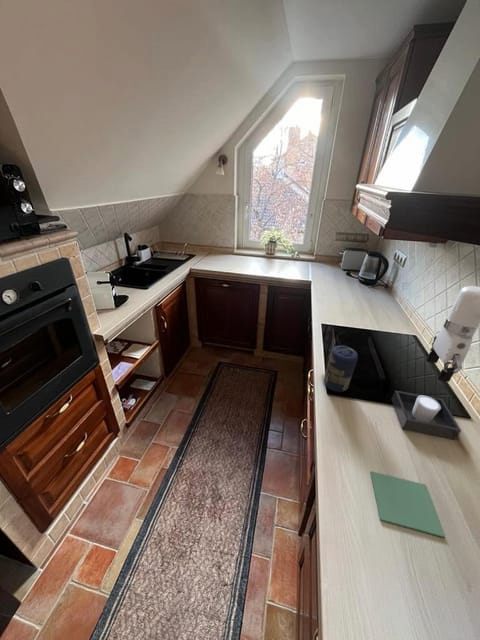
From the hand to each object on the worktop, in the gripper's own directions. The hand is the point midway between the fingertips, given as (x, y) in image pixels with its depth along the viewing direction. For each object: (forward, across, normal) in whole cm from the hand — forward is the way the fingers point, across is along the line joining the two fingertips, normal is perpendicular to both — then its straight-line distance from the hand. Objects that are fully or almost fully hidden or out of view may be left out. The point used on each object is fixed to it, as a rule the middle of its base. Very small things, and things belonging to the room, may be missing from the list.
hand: (436, 370), depth 85 cm
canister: (+18, +3, +29) cm, 34 cm away
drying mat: (+18, -37, +14) cm, 43 cm away
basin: (+18, -5, +1) cm, 18 cm away
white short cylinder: (+17, -5, +1) cm, 18 cm away
